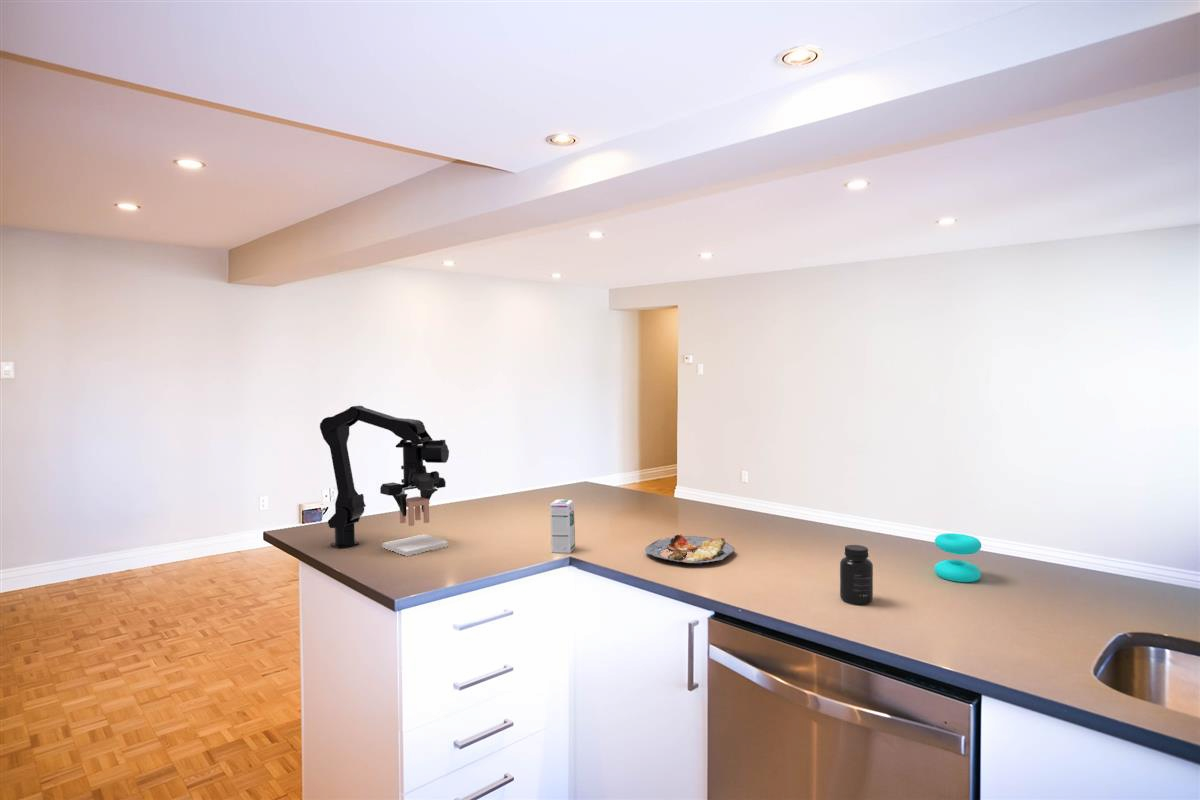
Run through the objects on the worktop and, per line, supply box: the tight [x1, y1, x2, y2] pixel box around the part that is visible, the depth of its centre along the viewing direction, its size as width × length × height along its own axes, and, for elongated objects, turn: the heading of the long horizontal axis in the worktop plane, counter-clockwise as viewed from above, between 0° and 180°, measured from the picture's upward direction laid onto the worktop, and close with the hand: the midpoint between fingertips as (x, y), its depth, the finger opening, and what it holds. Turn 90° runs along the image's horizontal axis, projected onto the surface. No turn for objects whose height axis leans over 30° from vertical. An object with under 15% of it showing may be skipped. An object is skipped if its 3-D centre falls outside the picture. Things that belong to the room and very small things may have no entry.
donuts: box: [934, 532, 982, 583], centre depth 157 cm, size 10×10×10 cm
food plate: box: [644, 534, 736, 565], centre depth 180 cm, size 25×23×4 cm
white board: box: [381, 533, 450, 557], centre depth 191 cm, size 14×14×2 cm
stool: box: [399, 496, 430, 527], centre depth 191 cm, size 6×6×7 cm
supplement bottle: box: [839, 544, 874, 606], centre depth 142 cm, size 7×7×12 cm
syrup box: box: [549, 498, 576, 554], centre depth 186 cm, size 6×6×14 cm
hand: (414, 514), depth 191 cm, fingers closed on stool, 6 cm apart
